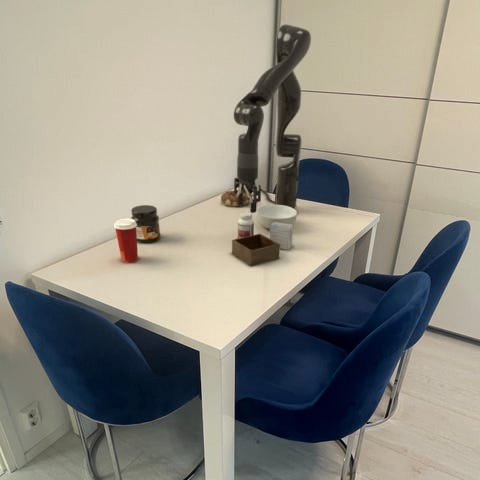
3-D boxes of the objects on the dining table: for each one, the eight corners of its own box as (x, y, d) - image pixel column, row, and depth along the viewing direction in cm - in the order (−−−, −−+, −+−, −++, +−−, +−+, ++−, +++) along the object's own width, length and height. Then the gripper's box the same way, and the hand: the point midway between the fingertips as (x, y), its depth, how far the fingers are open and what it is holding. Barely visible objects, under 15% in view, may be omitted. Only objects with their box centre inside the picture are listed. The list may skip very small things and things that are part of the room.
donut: (239, 209, 211) (239, 199, 208) (215, 204, 217) (215, 193, 214) (255, 201, 221) (256, 191, 218) (232, 196, 227) (232, 186, 225)
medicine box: (292, 246, 175) (293, 224, 170) (288, 250, 171) (289, 228, 167) (272, 242, 178) (274, 221, 173) (268, 246, 174) (269, 225, 170)
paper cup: (144, 256, 165) (140, 219, 158) (133, 265, 159) (129, 226, 151) (125, 253, 167) (120, 216, 160) (114, 262, 161) (108, 223, 154)
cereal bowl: (249, 230, 188) (250, 214, 184) (263, 218, 201) (263, 202, 197) (289, 237, 183) (290, 220, 179) (300, 223, 196) (301, 207, 192)
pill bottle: (246, 236, 183) (247, 209, 177) (256, 241, 179) (257, 214, 173) (234, 240, 179) (234, 213, 173) (244, 245, 175) (245, 217, 169)
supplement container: (136, 245, 174) (132, 214, 168) (131, 235, 182) (127, 206, 176) (163, 241, 177) (160, 211, 171) (157, 232, 186) (154, 203, 179)
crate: (231, 253, 168) (232, 239, 165) (259, 247, 174) (260, 233, 171) (250, 266, 159) (251, 251, 156) (279, 258, 165) (280, 244, 162)
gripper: (267, 167, 160) (265, 212, 169) (245, 159, 170) (244, 202, 179) (250, 170, 157) (249, 216, 165) (228, 162, 167) (228, 205, 175)
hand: (246, 209), depth 172 cm, fingers open, 8 cm apart
